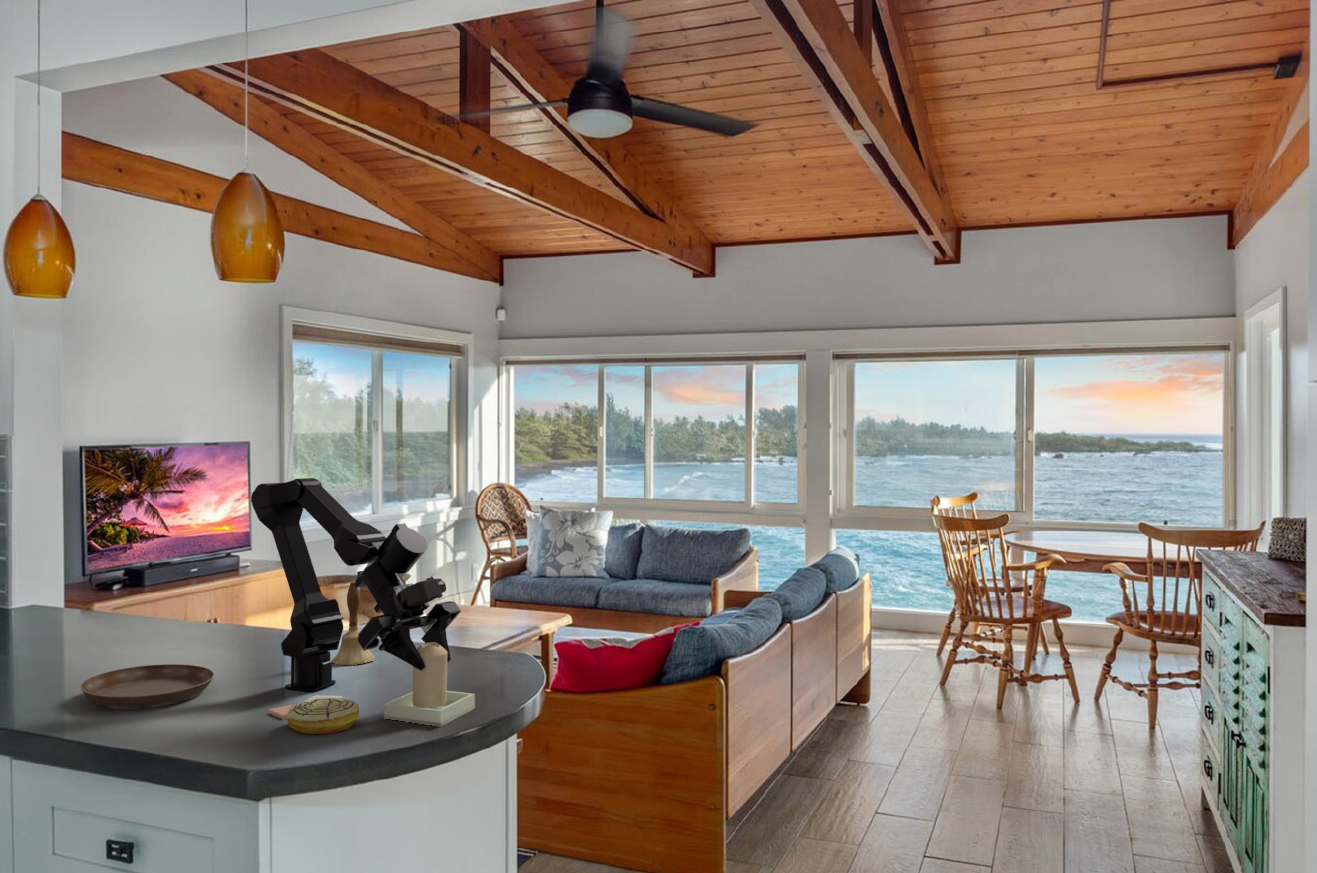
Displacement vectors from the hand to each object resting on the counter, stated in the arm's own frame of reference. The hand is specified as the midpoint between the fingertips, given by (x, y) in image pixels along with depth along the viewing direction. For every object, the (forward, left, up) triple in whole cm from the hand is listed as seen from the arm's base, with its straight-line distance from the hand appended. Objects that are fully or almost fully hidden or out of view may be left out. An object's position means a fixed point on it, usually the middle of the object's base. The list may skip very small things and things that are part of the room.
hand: (436, 665), depth 157 cm
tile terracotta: (-23, -8, -9) cm, 26 cm away
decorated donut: (-13, -11, -9) cm, 20 cm away
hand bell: (-36, +26, -9) cm, 45 cm away
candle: (-1, 0, -7) cm, 7 cm away
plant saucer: (-53, -8, -9) cm, 54 cm away
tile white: (-22, -1, -9) cm, 23 cm away
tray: (-1, 0, -8) cm, 8 cm away
